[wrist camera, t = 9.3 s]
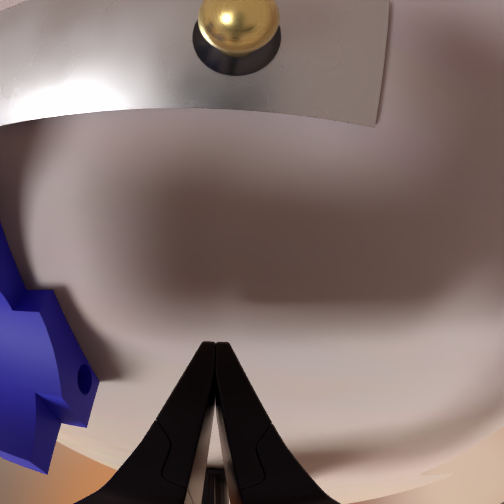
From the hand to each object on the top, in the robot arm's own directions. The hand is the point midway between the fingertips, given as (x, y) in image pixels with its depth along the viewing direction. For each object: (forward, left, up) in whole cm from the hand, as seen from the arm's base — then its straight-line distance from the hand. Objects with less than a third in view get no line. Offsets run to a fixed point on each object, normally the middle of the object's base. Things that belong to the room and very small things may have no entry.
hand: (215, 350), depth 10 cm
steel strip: (+9, +4, -2) cm, 10 cm away
